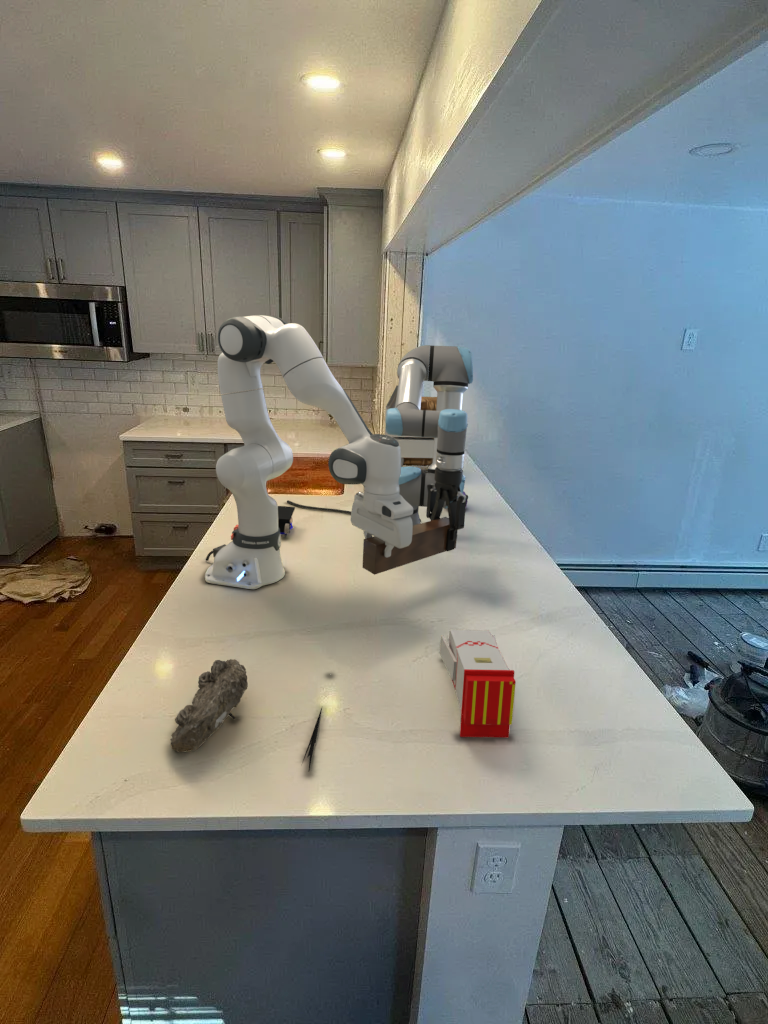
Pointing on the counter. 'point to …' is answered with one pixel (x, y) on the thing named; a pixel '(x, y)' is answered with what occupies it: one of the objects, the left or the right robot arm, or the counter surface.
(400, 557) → the walnut beam
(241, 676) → the fossil
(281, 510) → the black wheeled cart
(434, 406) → the transformer
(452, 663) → the toy
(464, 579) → the counter surface
